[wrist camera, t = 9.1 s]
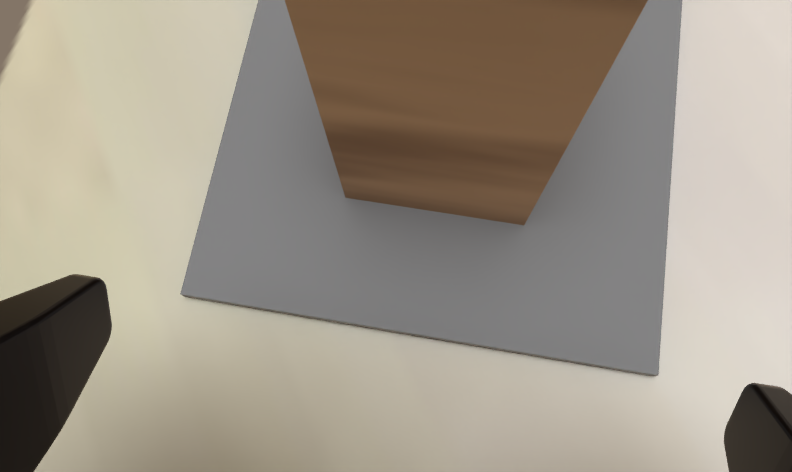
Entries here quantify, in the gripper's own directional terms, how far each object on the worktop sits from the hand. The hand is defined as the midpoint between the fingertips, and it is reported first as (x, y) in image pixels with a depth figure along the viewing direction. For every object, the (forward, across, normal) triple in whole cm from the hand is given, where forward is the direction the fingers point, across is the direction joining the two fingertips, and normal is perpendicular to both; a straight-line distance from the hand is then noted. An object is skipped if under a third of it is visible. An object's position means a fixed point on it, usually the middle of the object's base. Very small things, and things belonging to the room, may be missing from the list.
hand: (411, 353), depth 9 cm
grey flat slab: (+13, 0, +1) cm, 13 cm away
